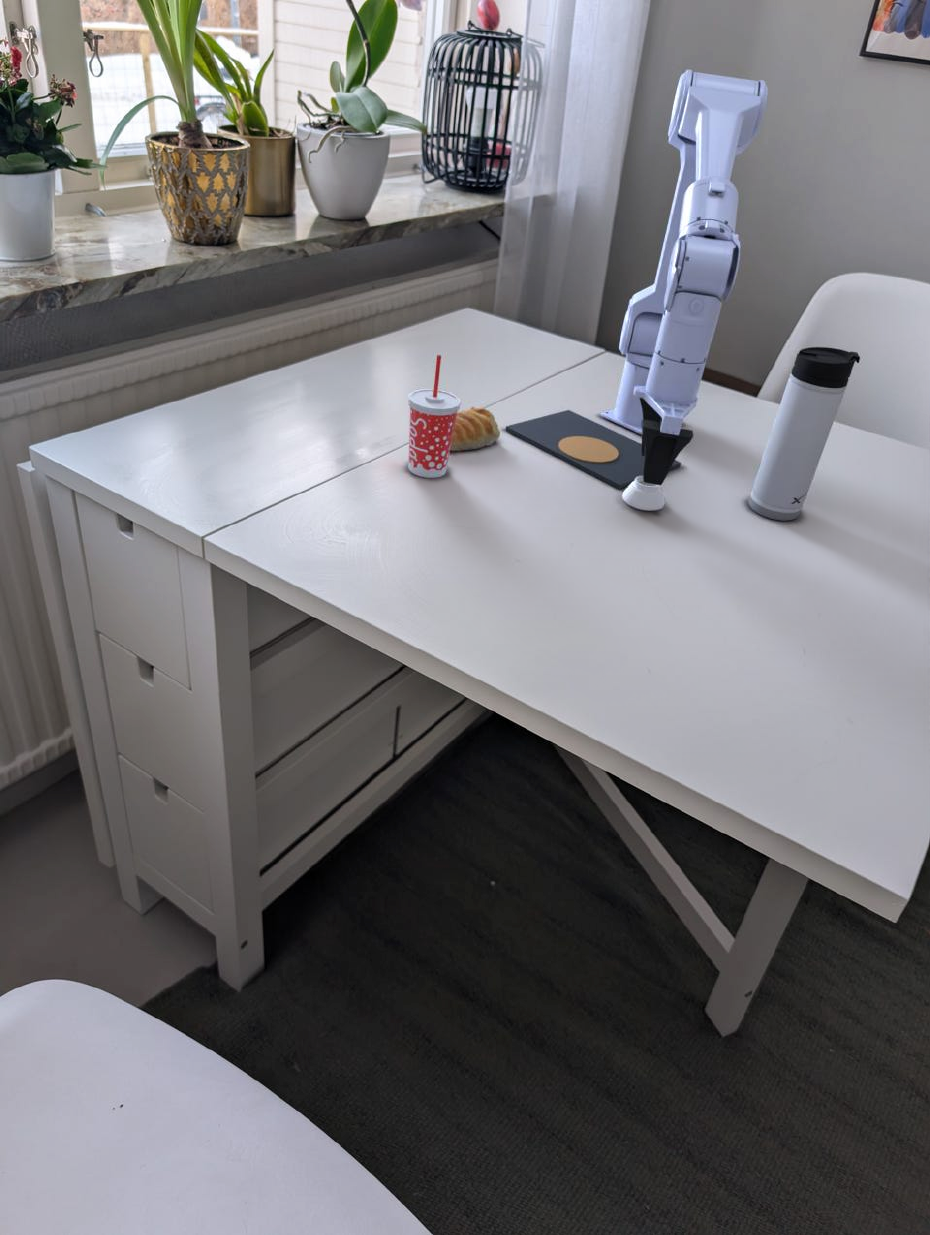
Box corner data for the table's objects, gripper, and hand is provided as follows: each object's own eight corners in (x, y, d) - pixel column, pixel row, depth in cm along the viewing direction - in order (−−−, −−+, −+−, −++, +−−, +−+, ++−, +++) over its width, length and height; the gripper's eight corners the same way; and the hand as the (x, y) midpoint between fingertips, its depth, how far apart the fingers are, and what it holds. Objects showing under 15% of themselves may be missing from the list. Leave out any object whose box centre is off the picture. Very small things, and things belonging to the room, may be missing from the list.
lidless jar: (637, 490, 110) (613, 500, 107) (643, 468, 109) (618, 477, 106) (671, 506, 108) (647, 517, 105) (677, 484, 106) (653, 494, 103)
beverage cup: (395, 459, 109) (404, 346, 102) (442, 457, 112) (455, 346, 104) (410, 482, 105) (421, 365, 97) (459, 479, 107) (474, 365, 99)
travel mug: (804, 526, 108) (865, 363, 96) (749, 515, 108) (803, 352, 97) (798, 503, 113) (856, 347, 101) (746, 493, 113) (797, 336, 102)
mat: (567, 413, 129) (569, 408, 129) (680, 466, 118) (681, 461, 117) (505, 430, 121) (505, 424, 121) (619, 489, 110) (620, 483, 110)
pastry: (455, 459, 111) (459, 431, 109) (416, 441, 115) (418, 413, 113) (502, 442, 118) (506, 414, 116) (464, 425, 121) (467, 398, 119)
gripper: (642, 330, 103) (617, 439, 111) (645, 369, 91) (617, 489, 99) (702, 340, 103) (673, 449, 111) (714, 381, 91) (680, 500, 99)
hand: (651, 469), depth 105 cm, fingers open, 7 cm apart
